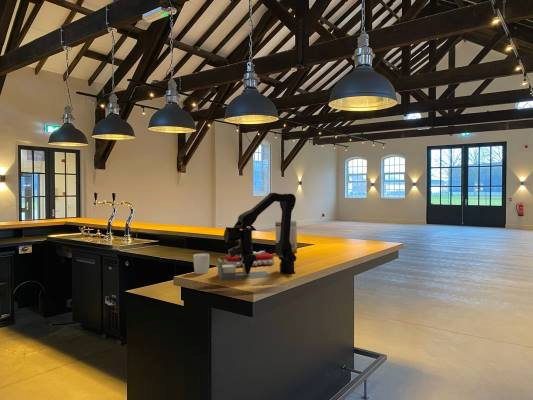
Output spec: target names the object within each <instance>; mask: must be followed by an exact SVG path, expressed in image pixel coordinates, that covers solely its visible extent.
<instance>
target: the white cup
mask: <svg viewBox="0 0 533 400" xmlns="http://www.w3.org/2000/svg"><path fill="white" fill-rule="evenodd" d="M192 256H193V270H194V274H198V275H200V274H201V275H204V274H205V275H206V274H208V273H209V272H210V271H209V270H210V254H209V253H195V254H193V255H192Z"/></svg>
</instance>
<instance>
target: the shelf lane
mask: <svg viewBox="0 0 533 400" xmlns="http://www.w3.org/2000/svg"><path fill="white" fill-rule="evenodd" d="M222 265H223V261H222V260H221V258H217V277H218V278H219V280H220V281H233V280H235V281H236V280H248V279H265V278H273V276H272V275H271V274H270V273H268V272H267V271H265V270H264V271H252V272H251V271H250V275H243V273H241V274H236V273H223V272H222Z"/></svg>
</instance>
